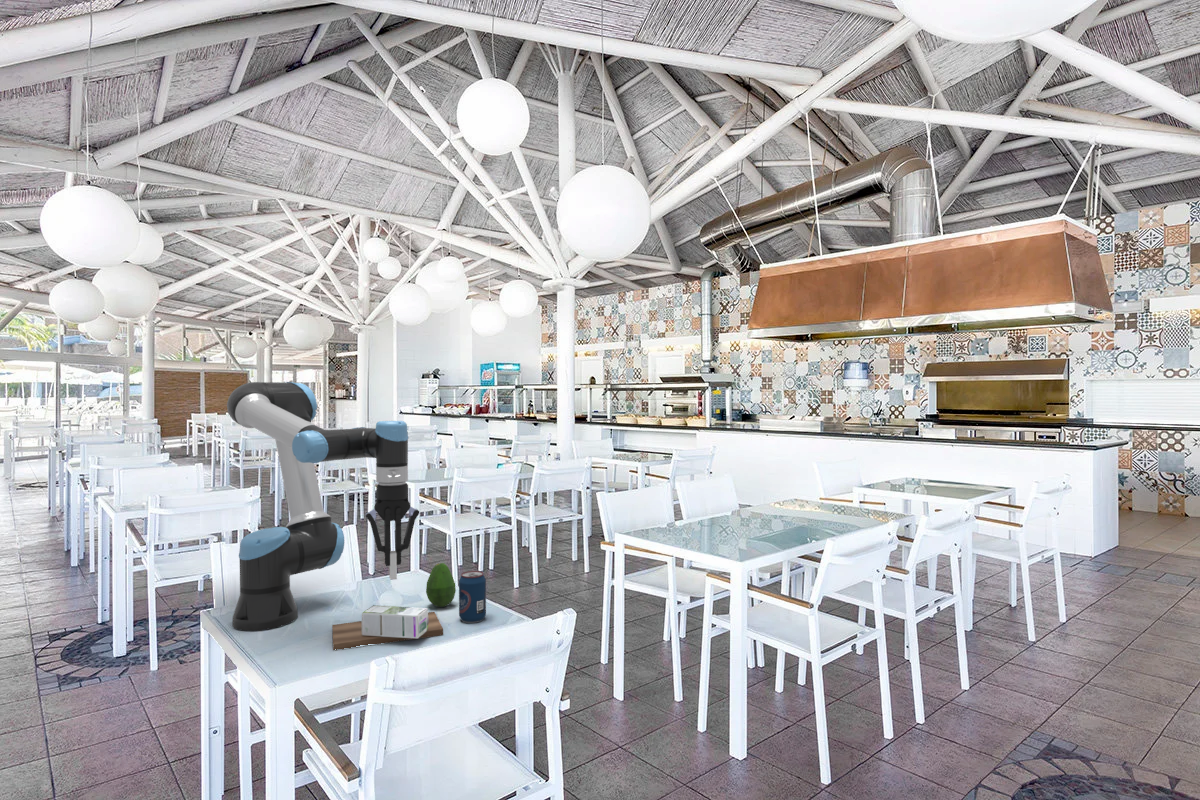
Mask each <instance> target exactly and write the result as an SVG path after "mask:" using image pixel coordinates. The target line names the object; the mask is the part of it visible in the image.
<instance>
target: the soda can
mask: <svg viewBox="0 0 1200 800" xmlns="http://www.w3.org/2000/svg"><path fill="white" fill-rule="evenodd" d="M458 615H459V618H460V619H461V622H462V623H465V624H475V623H479V622H480V623H481V622H482V621H483V620H484V619H485V617H486V615H487V579H486V577H485V575H484V571H480V570H467V571H464V572H462V573H461V574H460V578H459V579H458Z"/></svg>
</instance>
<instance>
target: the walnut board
mask: <svg viewBox="0 0 1200 800" xmlns="http://www.w3.org/2000/svg"><path fill="white" fill-rule="evenodd" d="M331 626H332V627H331V628H332V651H333V650H335V649H336V650H335V651H338V650H337V649H342V650H345V649H344V648H349V649H352V648H351V647H356V646H360V645H368V644H377V645H382V644H381V643H384V644H391V643H397V642H404V641H411V640H418V639H425V638H431V637H438V636H439V637H440V636H444V628H443V626H442V624H441V622H440V620H439V618H438V616H437V614H436V612H435V611H431V612H430V611H428V630H427V631H426V632H425V633H424V634H423V635H421V636H420V637H419V638H418V639H416V638H398V637H380V636H364V635H362V620H360V621H351V622H343V623H334V624H331ZM390 642H391V643H390ZM356 648H357V647H356Z"/></svg>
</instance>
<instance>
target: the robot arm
mask: <svg viewBox="0 0 1200 800" xmlns="http://www.w3.org/2000/svg"><path fill="white" fill-rule="evenodd" d="M226 409H227V413H228V416H229V417H230V418H231V419H232V420H233V422H235V423H236V424H238V425H240V426H242V427H243V428H247V429H256V430H257V431H259V432H262V433H264V434H265V435H267V436H269V437H271V438H273V439H274V440H275V445H276V449H277V455H278V460H279V466H280V471H281V476H282V481H283V486H284V492H285V497H286V502H287V507H288V512H289V518H290V520H289V521H288V523H287V524H286V526H276V527H274V526H273V527H270V528H269V527H267V528H262V529H259V530H256V531H253V532H251V533H248V534H246V535H245V536H244V537H243V538H242V539H241V540H240V543H239V551H238V552H239V553H238V558H239V595H238V600H237V602H236V607H235V609H234V611H233V614H232V628H233V629H236V630H239V631H244V632H247V631H249V632H252V631H253V632H254V631H255V632H256V631H265V630H271V629H275V628H279V627H284V626H286V625H288V624H291V623H293V622H295V620H297V619H298V607H297V603H296V601H295V598H294V595H293V593H292V591H291V576H293V575H298V574H302V573H306V572H310V571H315V570H321V569H324V568H326V567H329V566H333V565H334V564H336V563H337V562H338V561H339V560H340V559H341V556H342V554H343V553H344V550H345V534H344V531H343V529H342V528H341V526H340V525H339V524H338V523H336V522H332V517H331V516H332V515H330V514H328V513H326V512H325V510H324V507H323V501H322V498H321V491H320V485H319V481H318V477H317V472H316V471H317V470H316V468H315V467H316V466H315V464H317V463H322V462H324V463H325V462H331V461H334V462H335V461H339V460H341V461H342V460H343V461H344V460H352V459H353V460H355V459H363V458H366V459H367V458H368V459H369V458H371V459H375V460H376V462H375V470H376V471H375V479H376V483H377V484H376V488H375V489H376V491H375V492H376V493H375V494H376V495H375V496H376V498H375V499H376V502H375V504H374V508H372V509H371V510H370V511H367V512H365V518H366V519H367V521H368V522H369V523H370V527H371V528H370V529H371V531H372V535H373V538H374V541H375V545H376V549H377V551H378V552H381V553H382V552H383V553H384V565H385V566H386V567H388V569H389V573H388V575H389V576H388V577H389V579H390V581H391V580H393V581H394V580H397V579H398V578H397V577H398V575H397V573H398V572H397V571H398V570H397V569H398V566H399V565H401V564H402V552H403V551H404V550H407V549H409V547H410V543H411V539H412V534H413V530H414V526H415V522H416V519H417V518H418V516H419V515H420V511H419V510H418V509H417V508H415V507H413V506H411V502H410V501H409V484H408V483H407V482H408V481H409V469H408V468H409V467H408V466H409V435H408V424H407V423H406V422H405V421H403V420H380V421H377V422H376V424H375V427H373V428H372V427H371V428H370V427H365V426H364V427H363V426H362V427H359V426H358V427H352V428H344V429H343V428H341V429H324V428H322V427H320V426H318V425H315V424H313V422H312V421H313V420H314V419H315V417H316V416H317V410H318V403H317V398H316V396H315V394H314V392H313V390H312V389H311V388H310V387H309V386H307V385H306V384H305V383H300V382H293V381H286V382H282V381H281V382H275V381H274V382H273V381H272V382H269V381H268V382H267V381H265V382H261V381H252V382H247V383H244V384H241V385H240V386H238V387H236V388H235V389H234V390H233V391H232V392H231V393H230V395H229V396H228V399H227V403H226ZM407 513H408V516H409V517H408V521H407V526H406V529H405V534H404V537H403V541H402V519H403V518H404V517H405V516H406V515H407ZM377 514H378V516H379V517H380V518H381V519H382V520H383V525H384V526H383V533H384V536H383V537H384V540H383V541H384V545H383V544H382V541H381V537H380V533H379V530H378V526H377V522H376V521H375V520H376V518H377ZM392 521H394V529H395V530H394V539H395V540H394V547H395V548H394V549H395V550H391V522H392ZM397 565H398V566H397Z"/></svg>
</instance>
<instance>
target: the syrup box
mask: <svg viewBox="0 0 1200 800" xmlns="http://www.w3.org/2000/svg"><path fill="white" fill-rule="evenodd" d="M428 610H429V608H428V607H415V606H414V607H413V606H396V605H395V606H394V605H374V604H373V605H371V606H370V607H368V608H367V609H366V610H364V611H362V613H361V621H362V635H364V636H380V637H398V638H416V639H415V640H418V638H419V637H420V636H421V635H423V634H424V633H425V632H426V631H427V630H428V612H429V611H428ZM419 639H420V638H419Z"/></svg>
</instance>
